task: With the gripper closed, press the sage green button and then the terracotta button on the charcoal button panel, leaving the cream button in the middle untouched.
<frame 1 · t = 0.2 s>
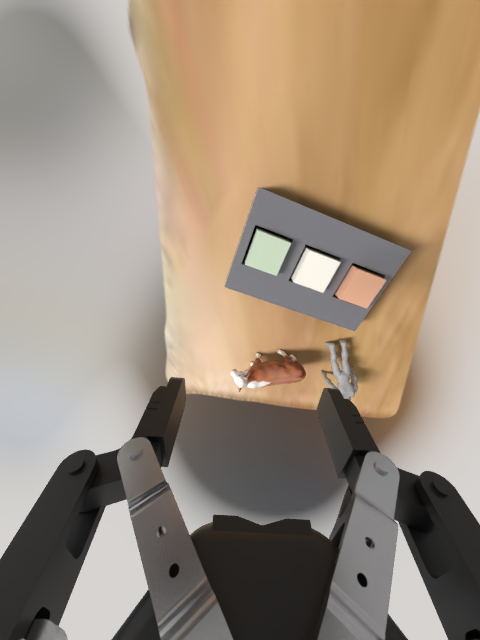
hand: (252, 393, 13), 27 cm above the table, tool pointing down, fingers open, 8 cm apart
grey human figurine: (335, 359, 46), on the table
sage button: (266, 251, 32), point 4 cm above the table, slide at 0.0 cm
terracotta button: (357, 286, 34), point 4 cm above the table, slide at 0.0 cm
bull figurine: (265, 356, 46), on the table
button panel: (307, 262, 37), on the table
cream button: (313, 269, 33), point 4 cm above the table, slide at 0.0 cm
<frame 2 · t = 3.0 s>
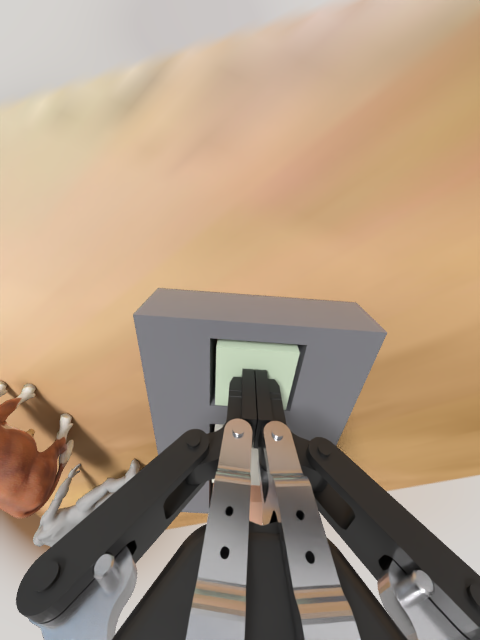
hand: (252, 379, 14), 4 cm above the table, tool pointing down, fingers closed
grey human figurine: (109, 470, 28), on the table
sage button: (253, 365, 15), point 3 cm above the table, slide at 1.2 cm, touching gripper
terracotta button: (238, 494, 22), point 4 cm above the table, slide at 0.0 cm
bull figurine: (38, 398, 22), on the table
button panel: (244, 407, 21), on the table
cream button: (244, 447, 18), point 4 cm above the table, slide at 0.0 cm
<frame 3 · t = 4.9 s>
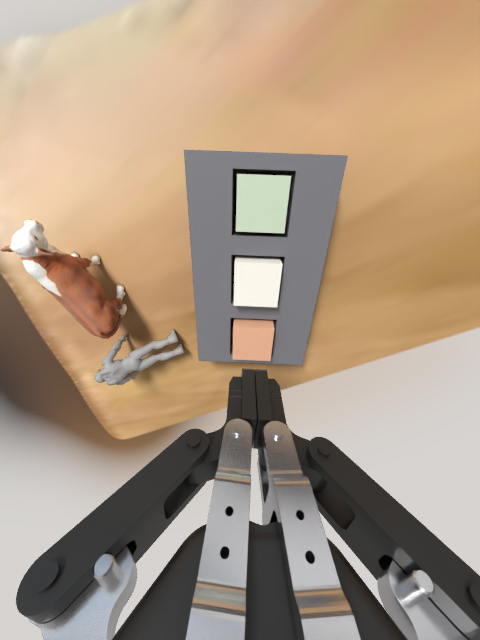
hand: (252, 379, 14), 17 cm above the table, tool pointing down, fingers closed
grey human figurine: (149, 345, 35), on the table
sage button: (261, 204, 22), point 3 cm above the table, slide at 1.2 cm
terracotta button: (252, 337, 29), point 4 cm above the table, slide at 0.0 cm
bull figurine: (100, 271, 29), on the table
button panel: (255, 270, 28), on the table
cream button: (256, 281, 25), point 4 cm above the table, slide at 0.0 cm
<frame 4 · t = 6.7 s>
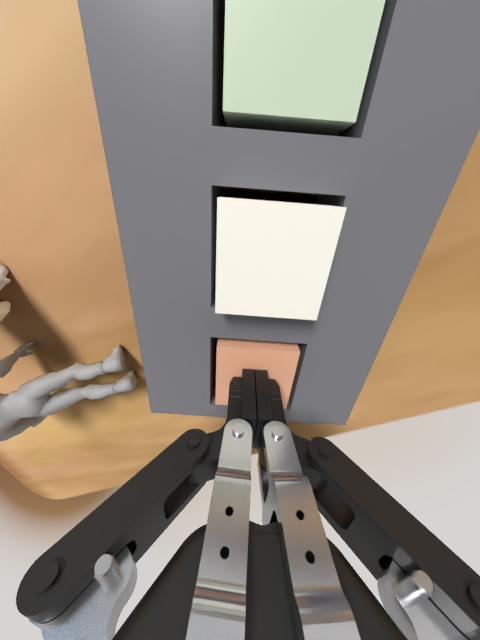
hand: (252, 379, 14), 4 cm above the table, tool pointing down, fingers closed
grey human figurine: (77, 365, 20), on the table
sage button: (293, 43, 8), point 3 cm above the table, slide at 1.2 cm
terracotta button: (253, 364, 15), point 3 cm above the table, slide at 1.1 cm, touching gripper
button panel: (264, 242, 14), on the table
cream button: (269, 257, 11), point 4 cm above the table, slide at 0.0 cm
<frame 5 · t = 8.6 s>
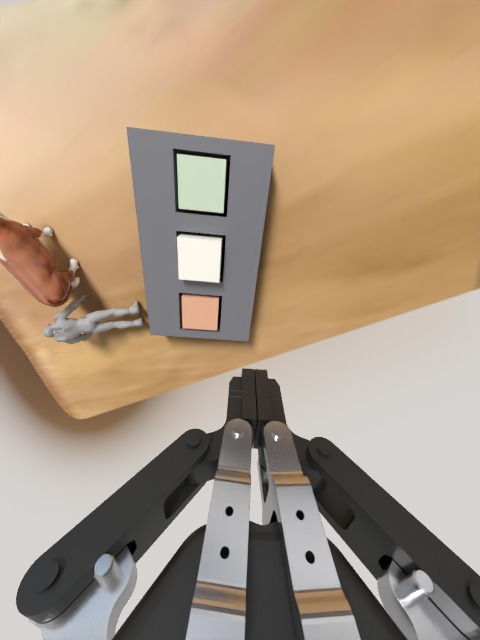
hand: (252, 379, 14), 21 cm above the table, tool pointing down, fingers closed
grey human figurine: (108, 311, 35), on the table
sage button: (203, 185, 25), point 3 cm above the table, slide at 1.2 cm
terracotta button: (201, 309, 32), point 3 cm above the table, slide at 1.2 cm
bull figurine: (53, 243, 30), on the table
button panel: (204, 250, 30), on the table
cream button: (200, 257, 27), point 4 cm above the table, slide at 0.0 cm
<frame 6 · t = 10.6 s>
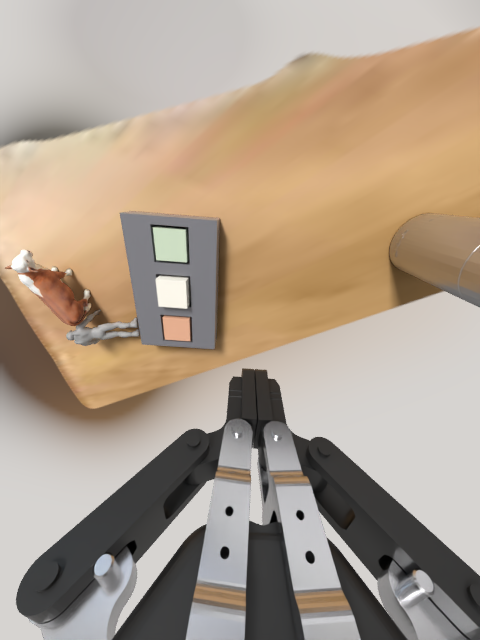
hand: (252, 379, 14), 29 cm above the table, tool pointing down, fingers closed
grey human figurine: (114, 322, 46), on the table
sage button: (173, 243, 36), point 3 cm above the table, slide at 1.2 cm
terracotta button: (178, 325, 43), point 3 cm above the table, slide at 1.2 cm
bull figurine: (72, 279, 42), on the table
button panel: (180, 283, 42), on the table
cream button: (174, 291, 38), point 4 cm above the table, slide at 0.0 cm
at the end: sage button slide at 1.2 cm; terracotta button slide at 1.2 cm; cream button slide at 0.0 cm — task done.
